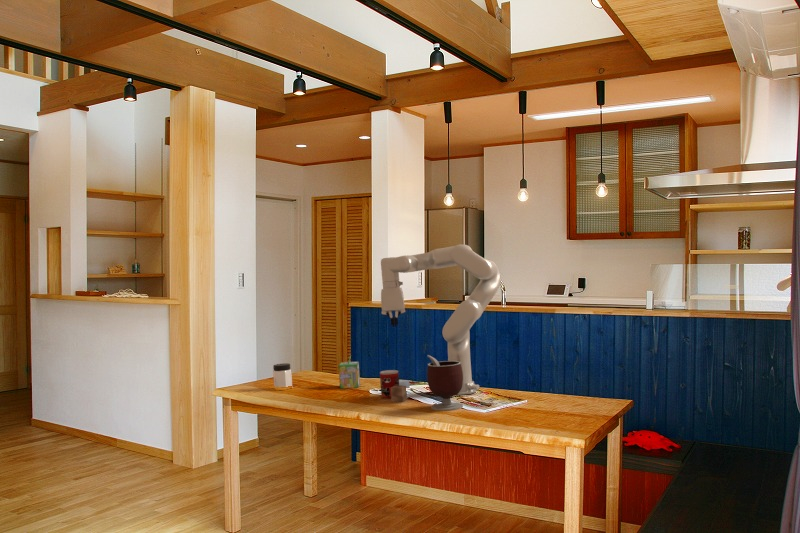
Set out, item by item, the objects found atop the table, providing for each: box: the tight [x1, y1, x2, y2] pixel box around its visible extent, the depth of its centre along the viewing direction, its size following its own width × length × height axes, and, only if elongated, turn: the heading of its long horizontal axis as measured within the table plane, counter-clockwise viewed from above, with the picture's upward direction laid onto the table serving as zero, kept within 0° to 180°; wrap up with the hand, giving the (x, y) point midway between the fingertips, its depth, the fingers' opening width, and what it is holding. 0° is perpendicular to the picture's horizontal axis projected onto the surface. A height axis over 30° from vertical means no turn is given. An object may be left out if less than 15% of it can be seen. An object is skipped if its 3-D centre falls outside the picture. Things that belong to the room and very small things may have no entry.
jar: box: [272, 362, 293, 387], centre depth 328 cm, size 9×8×12 cm
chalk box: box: [338, 355, 361, 390], centre depth 321 cm, size 9×9×15 cm
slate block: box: [399, 379, 411, 388], centre depth 299 cm, size 6×6×5 cm
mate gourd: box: [426, 354, 464, 412], centre depth 260 cm, size 16×14×20 cm
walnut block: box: [390, 386, 408, 403], centre depth 279 cm, size 5×5×6 cm
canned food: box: [379, 369, 400, 400], centre depth 289 cm, size 8×8×11 cm
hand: (394, 326), depth 296 cm, fingers closed
